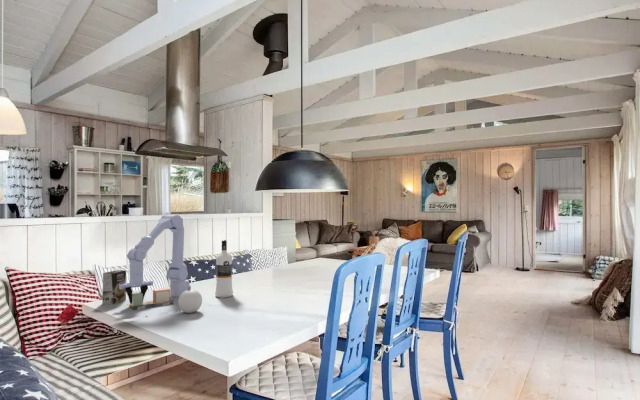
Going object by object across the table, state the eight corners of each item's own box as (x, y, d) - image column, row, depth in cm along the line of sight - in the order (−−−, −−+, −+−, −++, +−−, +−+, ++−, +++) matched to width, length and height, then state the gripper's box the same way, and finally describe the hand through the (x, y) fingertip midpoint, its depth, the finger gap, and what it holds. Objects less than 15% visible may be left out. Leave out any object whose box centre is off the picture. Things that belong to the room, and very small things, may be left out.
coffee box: (113, 306, 185) (113, 273, 185) (101, 306, 186) (102, 272, 186) (126, 302, 194) (126, 270, 194) (115, 301, 195) (115, 269, 195)
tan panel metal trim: (166, 301, 195) (166, 295, 195) (173, 306, 185) (173, 300, 185) (127, 307, 184) (127, 301, 184) (132, 312, 174) (132, 306, 174)
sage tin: (139, 303, 186) (139, 291, 186) (142, 306, 180) (142, 293, 181) (130, 304, 184) (130, 292, 184) (133, 307, 178) (133, 294, 178)
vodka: (231, 293, 212) (231, 239, 213) (234, 297, 203) (234, 240, 204) (214, 294, 209) (214, 239, 209) (216, 298, 200) (216, 241, 201)
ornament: (177, 310, 177) (177, 284, 177) (200, 308, 181) (200, 282, 181) (178, 316, 168) (178, 289, 168) (203, 314, 172) (203, 287, 172)
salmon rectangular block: (152, 302, 189) (153, 289, 189) (167, 299, 193) (167, 287, 193) (155, 303, 185) (155, 291, 186) (170, 301, 190) (170, 289, 190)
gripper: (121, 276, 175) (120, 306, 174) (154, 273, 183) (154, 301, 183) (118, 274, 180) (118, 303, 180) (151, 271, 189) (151, 298, 189)
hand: (136, 302), depth 182 cm, fingers closed on sage tin, 4 cm apart
